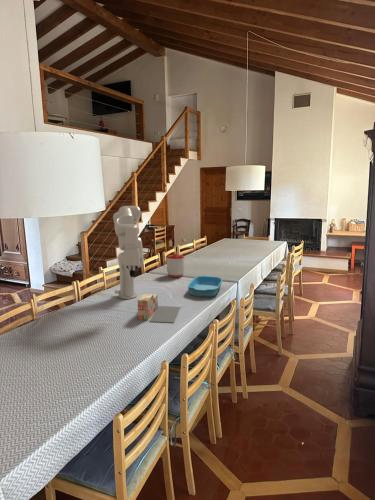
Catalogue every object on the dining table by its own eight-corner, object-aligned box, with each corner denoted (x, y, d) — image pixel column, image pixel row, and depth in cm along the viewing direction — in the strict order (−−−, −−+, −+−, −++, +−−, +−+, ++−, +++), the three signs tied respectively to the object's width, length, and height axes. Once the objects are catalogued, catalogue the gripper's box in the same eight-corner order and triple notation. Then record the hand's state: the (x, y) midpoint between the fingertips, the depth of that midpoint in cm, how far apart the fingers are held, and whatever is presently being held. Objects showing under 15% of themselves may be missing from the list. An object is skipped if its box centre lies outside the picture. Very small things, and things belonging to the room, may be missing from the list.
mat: (149, 321, 207) (149, 321, 207) (158, 306, 233) (158, 305, 233) (173, 323, 206) (173, 322, 206) (180, 307, 231) (180, 306, 231)
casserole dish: (216, 300, 246) (216, 290, 245) (184, 297, 252) (184, 287, 250) (224, 285, 281) (224, 276, 280) (196, 283, 287) (196, 274, 285)
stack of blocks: (148, 307, 232) (148, 289, 229) (158, 308, 230) (157, 289, 228) (137, 319, 211) (137, 299, 209) (148, 320, 210) (147, 300, 208)
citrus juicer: (166, 273, 317) (166, 251, 313) (185, 274, 314) (185, 251, 311) (162, 278, 302) (162, 254, 298) (183, 278, 299) (183, 255, 295)
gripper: (117, 247, 211) (118, 277, 215) (142, 247, 209) (143, 278, 213) (121, 245, 218) (122, 274, 222) (145, 245, 217) (146, 275, 220)
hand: (132, 276), depth 217 cm, fingers closed
